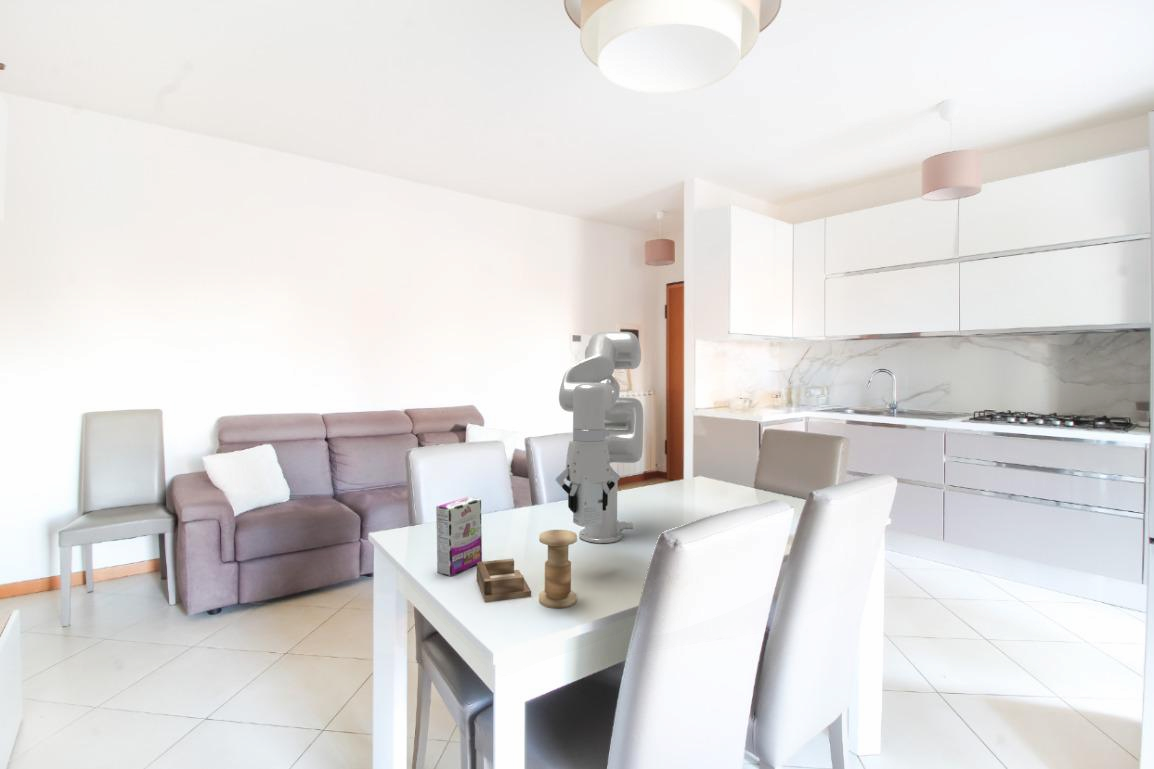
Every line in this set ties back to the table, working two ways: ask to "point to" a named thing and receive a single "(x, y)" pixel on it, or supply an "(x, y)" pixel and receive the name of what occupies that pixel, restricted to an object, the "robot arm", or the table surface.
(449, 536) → the candy bar box
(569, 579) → the bobbin
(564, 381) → the robot arm
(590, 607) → the table surface
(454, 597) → the table surface
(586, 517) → the skincare box
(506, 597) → the wooden u-shaped holder
